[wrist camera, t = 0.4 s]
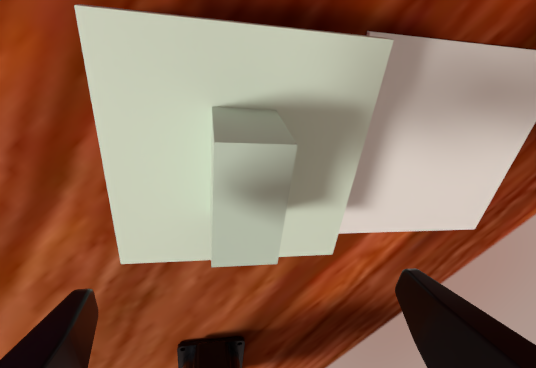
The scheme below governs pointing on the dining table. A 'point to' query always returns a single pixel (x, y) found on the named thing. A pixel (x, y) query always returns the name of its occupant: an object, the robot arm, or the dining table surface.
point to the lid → (227, 132)
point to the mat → (441, 134)
